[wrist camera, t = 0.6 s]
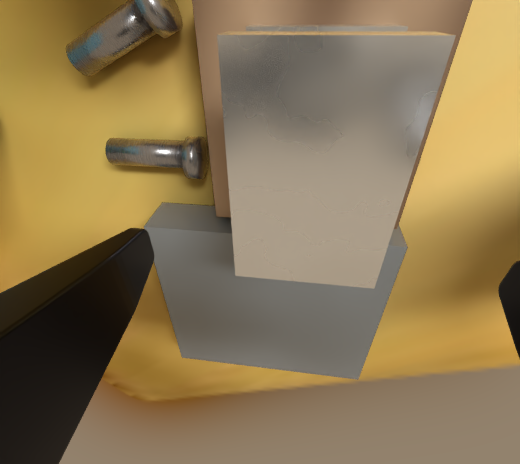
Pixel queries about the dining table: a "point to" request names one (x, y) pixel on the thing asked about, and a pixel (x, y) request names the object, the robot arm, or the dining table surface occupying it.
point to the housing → (323, 143)
